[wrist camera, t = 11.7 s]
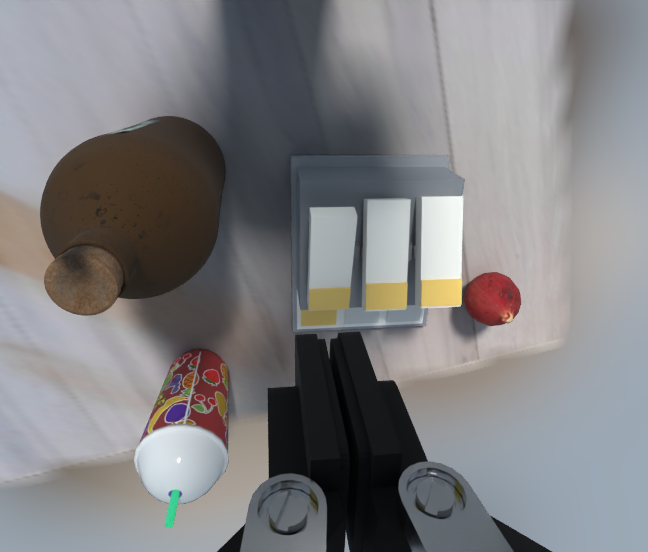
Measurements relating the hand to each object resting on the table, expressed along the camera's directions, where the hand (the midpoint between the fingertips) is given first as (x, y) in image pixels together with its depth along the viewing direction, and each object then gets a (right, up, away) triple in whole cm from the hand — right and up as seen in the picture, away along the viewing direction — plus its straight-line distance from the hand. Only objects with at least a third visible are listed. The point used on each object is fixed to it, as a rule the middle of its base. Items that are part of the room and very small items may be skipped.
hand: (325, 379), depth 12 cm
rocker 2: (+5, +5, +30) cm, 31 cm away
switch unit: (+4, +6, +37) cm, 38 cm away
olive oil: (-14, +13, +31) cm, 37 cm away
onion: (+18, +2, +41) cm, 45 cm away
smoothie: (-15, -8, +42) cm, 45 cm away
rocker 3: (+10, +5, +30) cm, 32 cm away
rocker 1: (0, +5, +29) cm, 29 cm away
